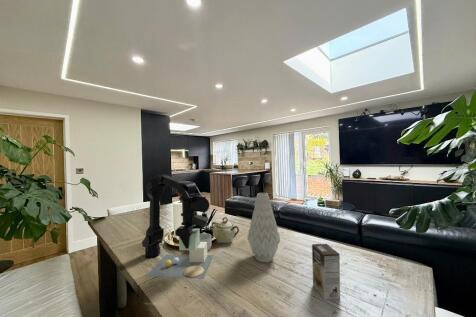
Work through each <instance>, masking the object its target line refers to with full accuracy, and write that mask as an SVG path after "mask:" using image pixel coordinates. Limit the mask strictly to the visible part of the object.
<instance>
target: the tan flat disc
mask: <svg viewBox="0 0 476 317" xmlns="http://www.w3.org/2000/svg"><path fill="white" fill-rule="evenodd" d="M203 272H204V268H203V267H201V266H190V267H188V268H186V269H185V270H184V271H183V274H184V276H186V277H197V276H199V275H201V274H202V273H203Z"/></svg>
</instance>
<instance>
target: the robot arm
mask: <svg viewBox="0 0 476 317" xmlns="http://www.w3.org/2000/svg"><path fill="white" fill-rule="evenodd" d="M167 186H168V187H170V188H172V189H175V190H176V192H177V193H178V194H179V195H180V197H178V200H179V201H181V208H182V209H181V210H182V212H181V213H180V216H181V217H182V222H181V224H180V226H179V227H177V228H176V229H175V231H174V236H176V237H178V238H179V237H180V239H181V240H182V242H183V244H184V246H185V248H186V249H188V248H189V241H190V236H191V235H192V229H198V228H199V227H201V228H206V226H207V224H208V222H209V217H208V213H206V212H208V210H209V209H210V202H209V200H208V199H207V198H206V195H202V193H201V192H200V190H199V188H198V186H197V185H196V182H194V181H189V180H188V181H184V180H180V179H177V178H175V177H172V176H171V175H168V174H159V175H158V176H157V177H156V178H153V179H152V180H149V182H148V183H147V184H146V185H145V190H146V195H147V196H148V198H149V226H148V228H147V229H146V230H145V237H144V238H143V239H142V241H141V245H142V247H143V248H145V249H144V252H145V255H144V259H156V258H157V257H158V256H159V255H161V246H160V244H162V243H163V239H164V235H165V234H164V232H165V231H164V230H165V229H164V228H162V226H161V225H160V224H161V221H160V219H161V218H160V214H161V197H162V195H163V194H164V190H165V188H166V187H167ZM198 213H202V214H198Z"/></svg>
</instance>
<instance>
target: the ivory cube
mask: <svg viewBox="0 0 476 317" xmlns="http://www.w3.org/2000/svg"><path fill="white" fill-rule="evenodd" d="M188 252H189V254H188V255H190V262H204V261H205V259H206V257H207V255H208V251H207V242H200V244H199V246H198V247H197V249H196V250H188Z"/></svg>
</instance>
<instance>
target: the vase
mask: <svg viewBox="0 0 476 317" xmlns="http://www.w3.org/2000/svg"><path fill="white" fill-rule="evenodd" d="M246 239H247V241H248V243H249V246H250V247H249V248H250V250H251V252H252V254H253V255H254V257H255V260H256V261H257V262H261V263H269V262H271V261H273V259H274V257H275V256H276V254H277V251H278V247H279V244H280V242H281V236H280V233H279V230H278V224H277V222H276V219H275V214H274V211H273V207H272V203H271V200H270V196H269V193H266V192H260V193H259V192H258V193H257V194H256V199H255V203H254V208H253V211H252V217H251V220H250V226H249V229H248V233H247V238H246Z"/></svg>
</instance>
